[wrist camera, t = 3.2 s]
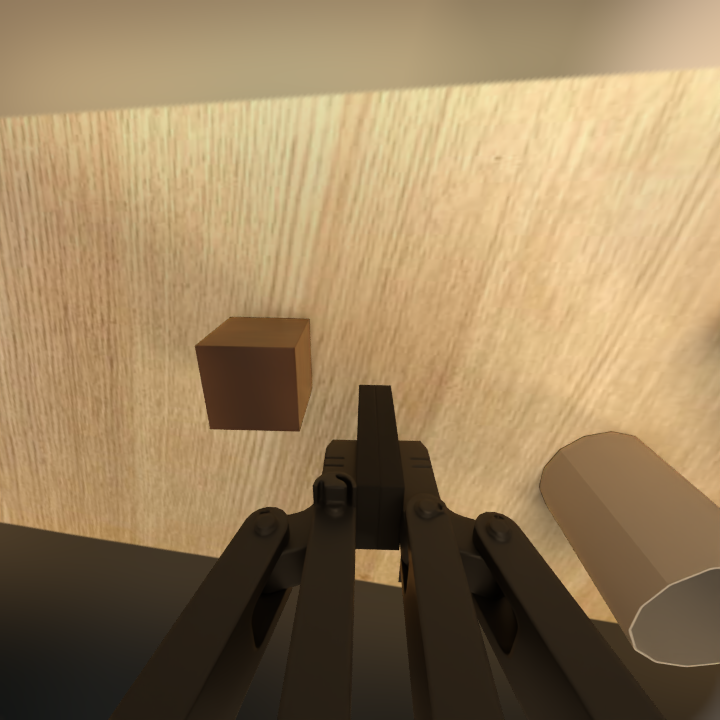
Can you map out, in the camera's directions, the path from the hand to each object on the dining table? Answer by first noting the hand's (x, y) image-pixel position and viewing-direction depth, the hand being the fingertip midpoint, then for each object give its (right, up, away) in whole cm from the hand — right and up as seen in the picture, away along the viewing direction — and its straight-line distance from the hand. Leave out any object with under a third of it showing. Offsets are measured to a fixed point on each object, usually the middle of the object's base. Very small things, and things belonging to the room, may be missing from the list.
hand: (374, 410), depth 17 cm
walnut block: (-6, +3, +6) cm, 9 cm away
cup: (+17, -7, +10) cm, 21 cm away
